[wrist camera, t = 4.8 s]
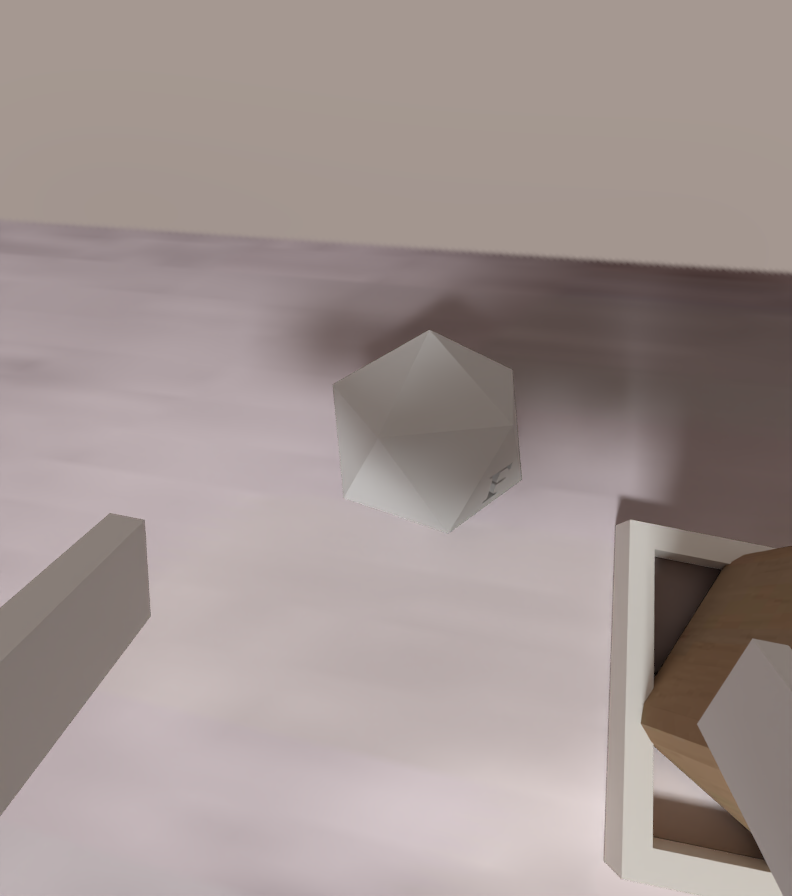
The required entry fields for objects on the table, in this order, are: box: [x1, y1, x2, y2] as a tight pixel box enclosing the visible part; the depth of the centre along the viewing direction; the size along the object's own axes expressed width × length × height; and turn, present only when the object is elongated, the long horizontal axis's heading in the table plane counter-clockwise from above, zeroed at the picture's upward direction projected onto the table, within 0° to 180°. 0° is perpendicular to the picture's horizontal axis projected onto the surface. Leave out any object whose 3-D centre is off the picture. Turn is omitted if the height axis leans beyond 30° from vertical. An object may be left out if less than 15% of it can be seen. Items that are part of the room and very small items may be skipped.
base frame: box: [604, 520, 783, 896], centre depth 22 cm, size 14×14×2 cm
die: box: [333, 330, 522, 534], centre depth 22 cm, size 8×9×10 cm
